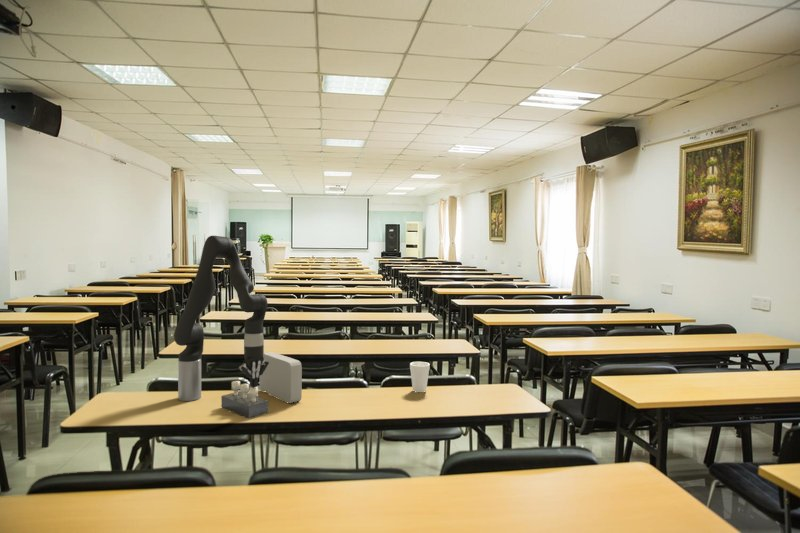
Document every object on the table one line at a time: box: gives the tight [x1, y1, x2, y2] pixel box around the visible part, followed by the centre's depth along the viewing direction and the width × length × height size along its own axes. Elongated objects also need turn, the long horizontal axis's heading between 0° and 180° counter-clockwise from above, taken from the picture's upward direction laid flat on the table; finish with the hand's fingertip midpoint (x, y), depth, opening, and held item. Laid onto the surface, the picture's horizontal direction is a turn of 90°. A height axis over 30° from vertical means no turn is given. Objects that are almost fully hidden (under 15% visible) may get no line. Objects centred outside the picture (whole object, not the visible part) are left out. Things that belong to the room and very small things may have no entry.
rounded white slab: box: [258, 351, 303, 404], centre depth 210 cm, size 29×8×18 cm, turn 44°
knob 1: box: [231, 380, 241, 396], centre depth 194 cm, size 3×3×8 cm
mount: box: [220, 390, 269, 420], centre depth 190 cm, size 20×9×5 cm, turn 51°
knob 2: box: [239, 383, 250, 399], centre depth 190 cm, size 3×3×8 cm
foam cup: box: [409, 361, 431, 393], centre depth 220 cm, size 10×9×13 cm
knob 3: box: [248, 386, 259, 403], centre depth 186 cm, size 3×3×8 cm
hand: (253, 386), depth 186 cm, fingers closed
